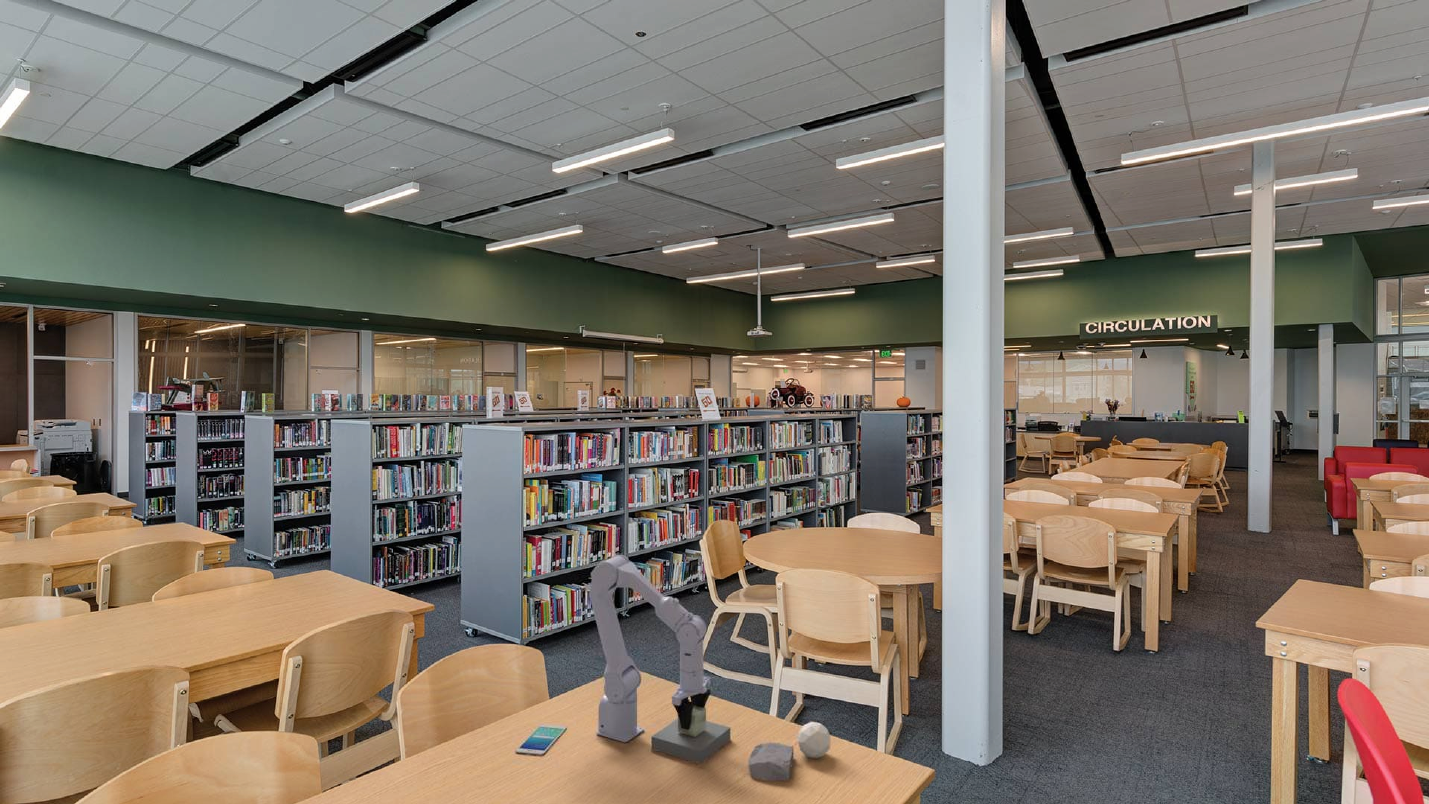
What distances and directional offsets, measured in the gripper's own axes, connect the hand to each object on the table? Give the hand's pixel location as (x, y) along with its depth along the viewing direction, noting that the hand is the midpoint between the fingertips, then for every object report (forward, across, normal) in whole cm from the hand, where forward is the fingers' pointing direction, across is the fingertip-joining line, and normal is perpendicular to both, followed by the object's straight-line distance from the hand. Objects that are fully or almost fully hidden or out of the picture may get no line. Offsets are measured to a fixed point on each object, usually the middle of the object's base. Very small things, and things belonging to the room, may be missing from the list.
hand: (691, 724), depth 173 cm
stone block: (+5, 0, -21) cm, 22 cm away
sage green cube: (+2, 0, 0) cm, 2 cm away
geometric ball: (+5, +10, -28) cm, 30 cm away
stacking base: (+5, 0, 0) cm, 5 cm away
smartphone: (+6, -17, +33) cm, 38 cm away
